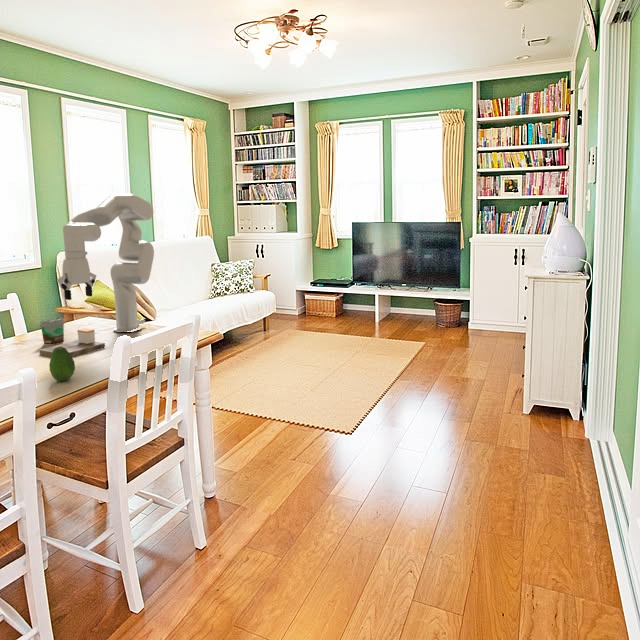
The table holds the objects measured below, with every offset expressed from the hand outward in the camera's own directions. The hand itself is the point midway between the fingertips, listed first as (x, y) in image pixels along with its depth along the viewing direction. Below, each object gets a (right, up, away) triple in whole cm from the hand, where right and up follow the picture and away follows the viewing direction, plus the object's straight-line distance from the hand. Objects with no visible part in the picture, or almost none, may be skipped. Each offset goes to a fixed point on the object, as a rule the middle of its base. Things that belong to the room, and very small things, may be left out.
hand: (78, 297), depth 236 cm
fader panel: (-2, -22, -1) cm, 22 cm away
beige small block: (+1, -18, +5) cm, 19 cm away
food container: (-15, -19, +13) cm, 27 cm away
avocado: (+11, -30, -38) cm, 50 cm away
